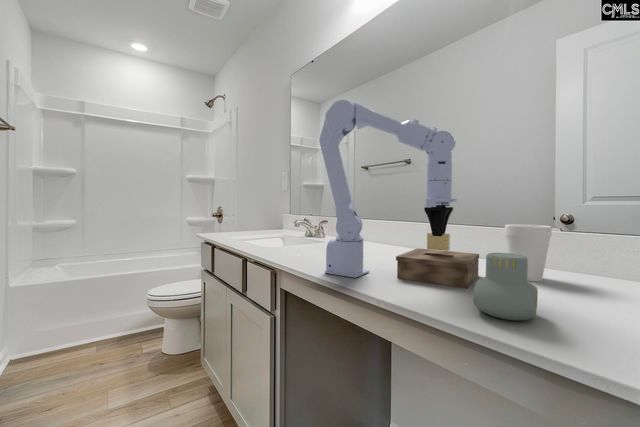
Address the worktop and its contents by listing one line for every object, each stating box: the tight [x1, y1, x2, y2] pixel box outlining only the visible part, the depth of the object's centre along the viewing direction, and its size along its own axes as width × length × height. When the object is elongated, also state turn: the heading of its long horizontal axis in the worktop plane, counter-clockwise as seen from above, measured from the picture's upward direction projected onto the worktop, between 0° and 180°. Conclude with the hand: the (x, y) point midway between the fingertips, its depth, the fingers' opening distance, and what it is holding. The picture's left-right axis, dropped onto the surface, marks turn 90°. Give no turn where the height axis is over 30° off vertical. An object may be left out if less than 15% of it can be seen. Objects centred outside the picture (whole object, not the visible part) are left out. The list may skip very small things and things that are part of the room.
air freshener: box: [472, 252, 538, 322], centre depth 50 cm, size 11×8×10 cm
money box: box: [395, 248, 480, 289], centre depth 76 cm, size 16×16×6 cm
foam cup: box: [504, 224, 552, 282], centre depth 75 cm, size 10×9×13 cm
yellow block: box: [426, 232, 451, 251], centre depth 75 cm, size 5×2×4 cm, turn 53°
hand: (438, 235), depth 75 cm, fingers closed on yellow block, 1 cm apart
